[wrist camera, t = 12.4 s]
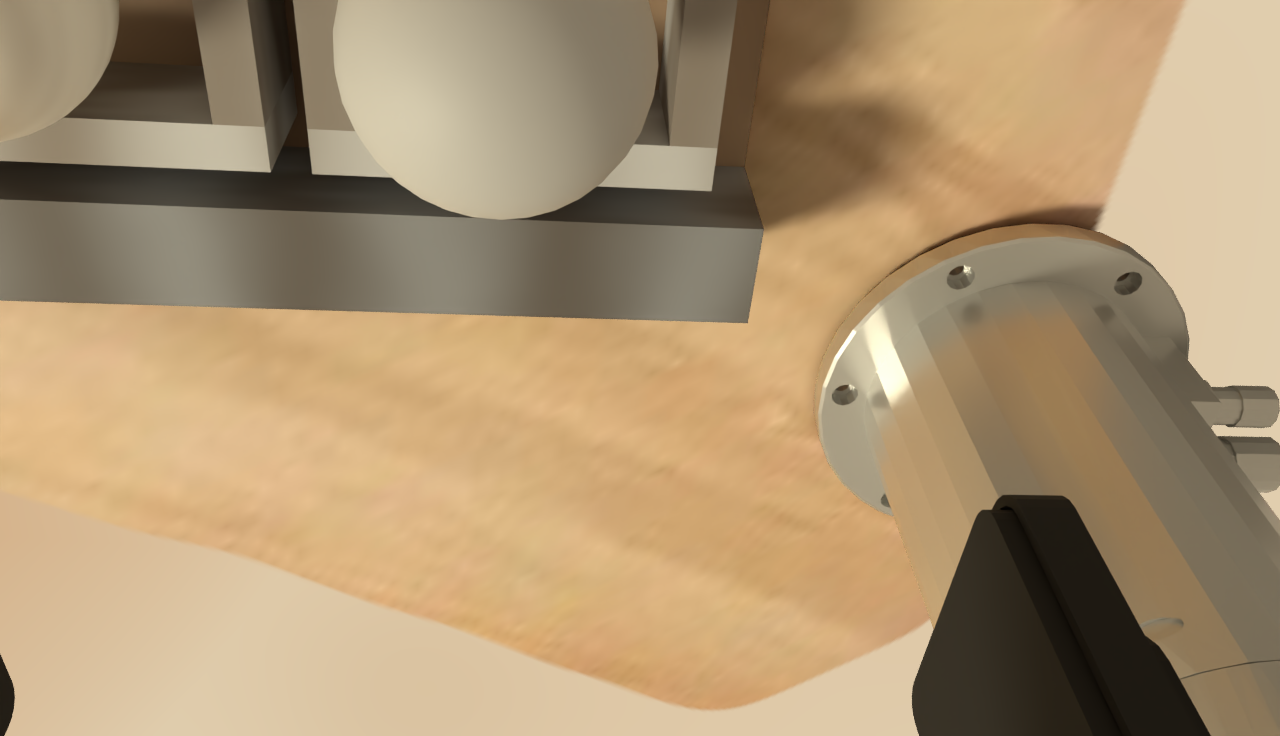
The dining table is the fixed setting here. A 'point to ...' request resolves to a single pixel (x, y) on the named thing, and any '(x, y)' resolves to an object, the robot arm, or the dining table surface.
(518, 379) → the dining table surface
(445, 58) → the lightbulb
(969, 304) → the robot arm
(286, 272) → the compartment tray
